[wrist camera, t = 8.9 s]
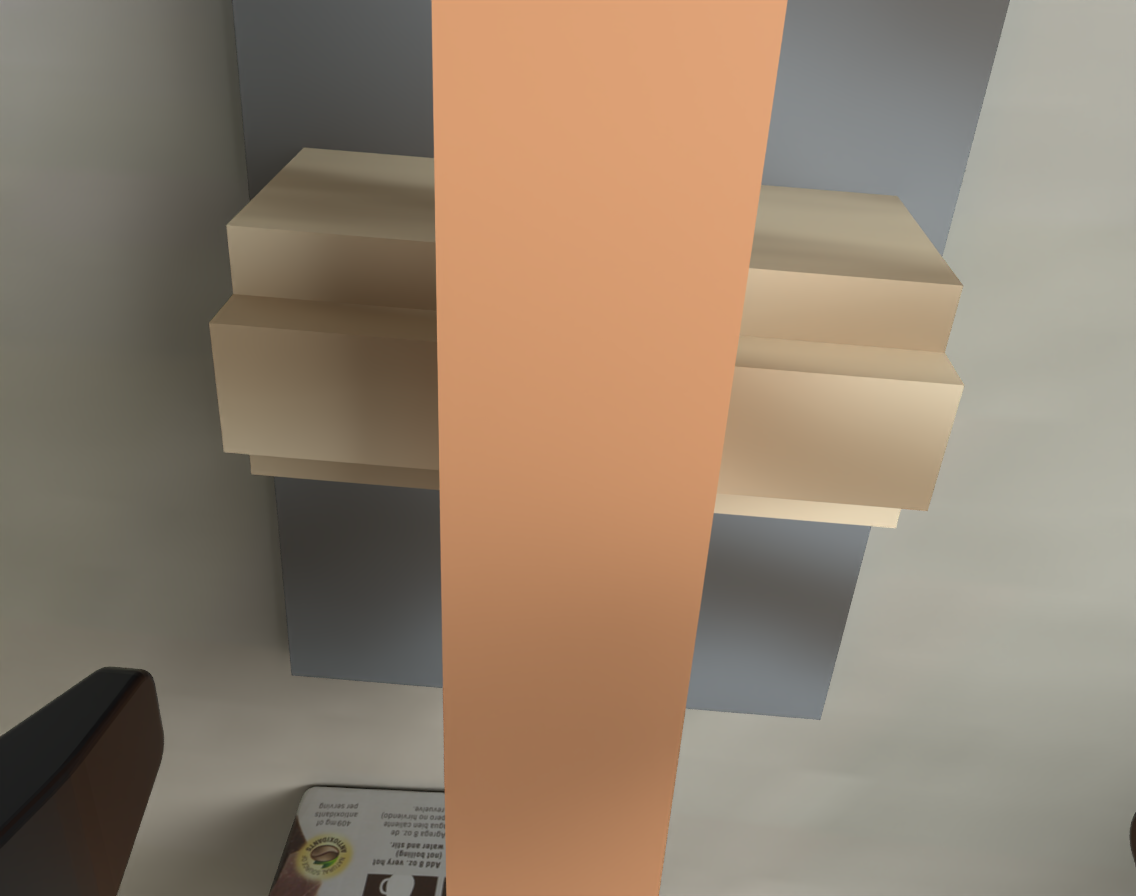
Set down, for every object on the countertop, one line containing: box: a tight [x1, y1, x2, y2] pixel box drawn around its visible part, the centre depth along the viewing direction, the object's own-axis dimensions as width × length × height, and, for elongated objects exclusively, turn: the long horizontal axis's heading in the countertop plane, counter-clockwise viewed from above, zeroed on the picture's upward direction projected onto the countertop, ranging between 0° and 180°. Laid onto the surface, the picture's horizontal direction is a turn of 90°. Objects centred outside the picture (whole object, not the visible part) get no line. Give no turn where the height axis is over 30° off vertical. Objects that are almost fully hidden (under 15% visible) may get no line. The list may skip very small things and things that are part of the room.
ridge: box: [209, 0, 1010, 720], centre depth 17 cm, size 20×12×6 cm, turn 176°
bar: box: [432, 0, 788, 896], centre depth 13 cm, size 18×3×3 cm, turn 177°
